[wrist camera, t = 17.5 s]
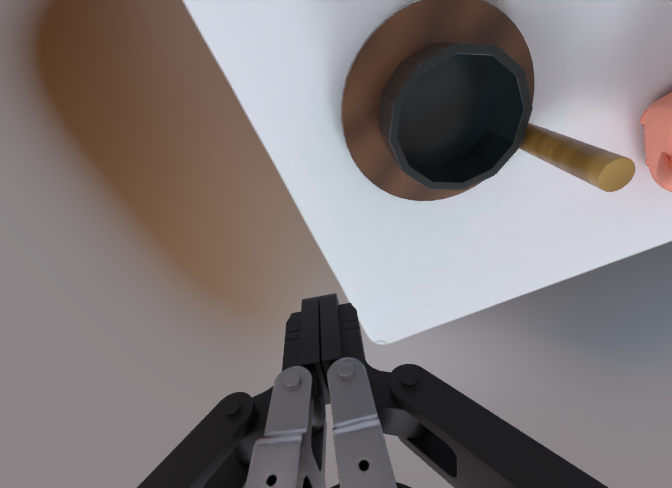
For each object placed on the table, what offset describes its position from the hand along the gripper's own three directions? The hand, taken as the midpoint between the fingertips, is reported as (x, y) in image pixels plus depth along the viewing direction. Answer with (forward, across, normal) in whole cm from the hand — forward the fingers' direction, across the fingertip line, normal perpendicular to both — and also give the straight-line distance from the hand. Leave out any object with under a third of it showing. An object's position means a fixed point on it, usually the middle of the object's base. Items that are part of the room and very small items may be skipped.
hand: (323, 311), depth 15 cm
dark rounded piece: (+24, -12, -2) cm, 27 cm away
